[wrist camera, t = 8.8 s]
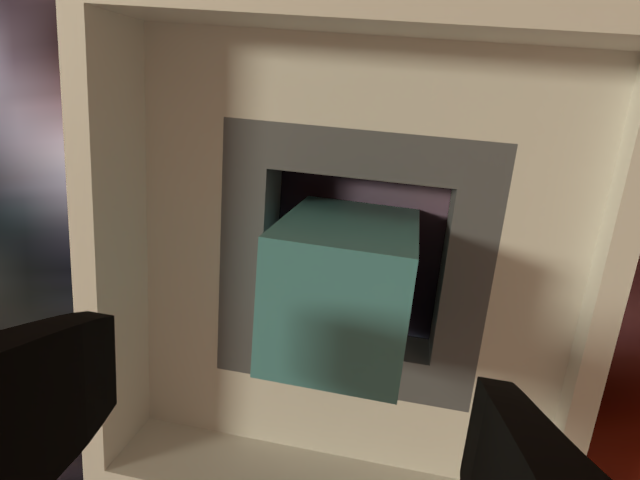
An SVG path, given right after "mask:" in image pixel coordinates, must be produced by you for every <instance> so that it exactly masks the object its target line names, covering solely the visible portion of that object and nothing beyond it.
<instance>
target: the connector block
mask: <svg viewBox="0 0 640 480" xmlns="http://www.w3.org/2000/svg"><path fill="white" fill-rule="evenodd" d="M419 212H420V210H417V209H409V208H402V207H394V206H386V205H378V204H370V203H362V202H354V201H346V200H338V199H330V198H322V197H315V196H307V197H306V198H305V199H304V200H302V201H301V202H300V203H299V204H298V205H296V206H295V207H294V208H293V209H292V210H290V211H289V212H288V213H287V214H286V215H284V216H283V217H282V218H281V219H279V220H278V221H277V222H276V223H275V224H273V225H272V226H271V227H270V228H269V229H267V230H266V231H265V232H264V233H262V234H261V235H260V236H259V237H258V252H257V269H256V286H255V303H254V320H253V337H252V354H251V371H250V377H251V378H256V379H262V380H267V381H272V382H278V383H283V384H288V385H294V386H299V387H305V388H310V389H315V390H321V391H326V392H331V393H337V394H342V395H347V396H353V397H358V398H363V399H369V400H374V401H379V402H385V403H390V404H395V405H397V401H398V394H399V387H400V381H401V374H402V367H403V361H404V354H405V348H406V341H407V334H408V328H409V321H410V315H411V308H412V301H413V295H414V288H415V281H416V275H417V268H418V262H419Z"/></svg>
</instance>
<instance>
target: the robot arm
mask: <svg viewBox="0 0 640 480" xmlns="http://www.w3.org/2000/svg"><path fill="white" fill-rule="evenodd" d="M116 404H117V388H116V355H115V322H114V315H108V314H102V313H96V312H91V311H83V312H75V313H69V314H64V315H59V316H55V317H51V318H46V319H42V320H38V321H34V322H30V323H26V324H22V325H18V326H15V327H11V328H7V329H3V330H0V480H56V479H57V478H58V477H59V476H60V475H61V474H62V473H63V472H64V471H65V470H66V469H67V467H68V466H69V465H70V464H71V463H72V462H73V461H74V460H75V459H76V458H77V457H78V455H79V454H80V453H81V452H82V451H83V450H84V449H85V448H86V446H87V445H88V444H89V443H90V441H91V440H92V439H93V437H94V436H95V434H96V433H97V432H98V430H99V429H100V428H101V426H102V425H103V423H104V422H105V420H106V419H107V417H108V416H109V414H110V413H111V412H112V410H113V409H114V407H115V406H116ZM460 480H612V479H611V478H610V477H608V476H607V475H606V474H605V473H604V472H603V471H602V470H601V469H600V468H599V467H598V466H596V465H595V464H594V463H593V462H592V461H591V460H590V459H589V458H588V457H587V456H586V455H585V454H584V453H583V452H582V451H581V450H580V449H579V448H578V447H577V446H576V445H575V444H574V443H573V442H572V441H571V440H570V439H569V438H568V437H567V436H566V435H565V434H564V433H563V432H562V431H561V430H560V429H559V428H558V427H557V426H556V425H555V424H554V423H553V422H552V421H551V420H550V419H549V418H548V417H547V416H546V415H545V414H544V413H543V412H542V411H541V410H540V409H539V408H538V407H537V406H536V405H535V404H534V403H533V401H532V400H531V399H530V398H529V397H528V396H527V395H526V394H525V393H524V392H523V391H522V390H521V389H520V388H519V387H518V386H517V385H515V384H514V383H513V382H509V381H503V380H497V379H491V378H485V377H479V376H478V378H477V383H476V388H475V393H474V399H473V404H472V409H471V415H470V420H469V425H468V430H467V436H466V441H465V446H464V452H463V457H462V462H461V468H460Z"/></svg>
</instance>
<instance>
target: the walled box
mask: <svg viewBox="0 0 640 480" xmlns="http://www.w3.org/2000/svg"><path fill="white" fill-rule="evenodd" d="M56 14H57V31H58V49H59V66H60V83H61V100H62V117H63V134H64V152H65V169H66V186H67V203H68V220H69V238H70V255H71V272H72V289H73V306H74V313H75V312H83V311H91V312H96V313H102V314H108V315H114V322H115V355H116V388H117V404H116V406H115V407H114V409H113V410H112V412H111V413H110V414H109V416H108V417H107V419H106V420H105V422H104V423H103V425H102V426H101V428H100V429H99V430H98V432H97V433H96V434H95V436H94V437H93V439H92V440H91V441H90V443H89V444H88V445H87V446H86V448H85V449H84V450H83V451H82V461H83V478H84V480H460V468H461V462H462V457H463V452H464V446H465V441H466V436H467V430H468V425H469V420H470V415H471V409H472V404H473V399H474V393H475V388H476V383H477V378H478V376H479V377H485V378H491V379H497V380H503V381H509V382H513V383H514V384H515V385H517V386H518V387H519V388H520V389H521V390H522V391H523V392H524V393H525V394H526V395H527V396H528V397H529V398H530V399H531V400H532V401H533V403H534V404H535V405H536V406H537V407H538V408H539V409H540V410H541V411H542V412H543V413H544V414H545V415H546V416H547V417H548V418H549V419H550V420H551V421H552V422H553V423H554V424H555V425H556V426H557V427H558V428H559V429H560V430H561V431H562V432H563V433H564V434H565V435H566V436H567V437H568V438H569V439H570V440H571V441H572V442H573V443H574V444H575V445H576V446H577V447H578V448H579V449H580V450H581V451H582V452H583V453H584V454H585V455H586V456H587V452H588V449H589V445H590V441H591V437H592V434H593V430H594V426H595V422H596V418H597V415H598V411H599V407H600V403H601V399H602V396H603V392H604V388H605V384H606V381H607V377H608V373H609V369H610V365H611V362H612V358H613V354H614V350H615V347H616V343H617V339H618V335H619V331H620V328H621V324H622V320H623V316H624V312H625V309H626V305H627V301H628V297H629V294H630V290H631V286H632V282H633V278H634V275H635V271H636V267H637V263H638V259H639V256H640V0H56ZM282 170H283V171H292V172H302V173H311V174H320V175H329V176H339V177H348V178H357V179H366V180H375V181H385V182H394V183H403V184H412V185H422V186H431V187H440V188H449V189H452V192H451V198H450V205H449V211H448V218H447V224H446V231H445V238H444V244H443V251H442V257H441V264H440V270H439V277H438V284H437V290H436V297H435V303H434V310H433V316H432V323H431V330H430V336H429V339H423V338H416V337H410V336H407V341H406V348H405V354H404V361H403V367H402V374H401V381H400V387H399V394H398V401H397V405H395V404H390V403H385V402H379V401H374V400H369V399H363V398H358V397H353V396H347V395H342V394H337V393H331V392H326V391H321V390H315V389H310V388H305V387H299V386H294V385H288V384H283V383H278V382H272V381H267V380H262V379H256V378H251V377H250V371H251V354H252V337H253V320H254V303H255V286H256V269H257V252H258V237H259V236H260V235H261V234H262V233H264V232H265V231H266V230H267V229H269V228H270V227H271V226H272V225H273V224H275V223H276V222H277V221H278V220H279V215H280V198H281V181H282Z"/></svg>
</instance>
